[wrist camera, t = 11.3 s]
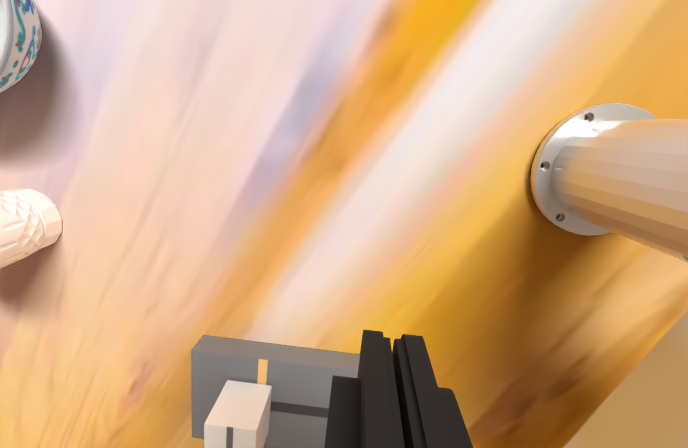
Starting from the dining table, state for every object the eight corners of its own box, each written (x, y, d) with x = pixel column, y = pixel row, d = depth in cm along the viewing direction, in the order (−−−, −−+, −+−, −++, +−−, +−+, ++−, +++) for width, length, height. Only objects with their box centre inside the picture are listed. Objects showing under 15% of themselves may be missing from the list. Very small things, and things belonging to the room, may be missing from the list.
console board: (421, 362, 41) (426, 380, 38) (405, 443, 44) (409, 466, 41) (203, 335, 41) (190, 351, 38) (202, 417, 44) (191, 438, 41)
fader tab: (271, 385, 39) (256, 431, 33) (268, 429, 40) (253, 480, 34) (227, 379, 39) (203, 424, 33) (226, 423, 40) (203, 474, 34)
